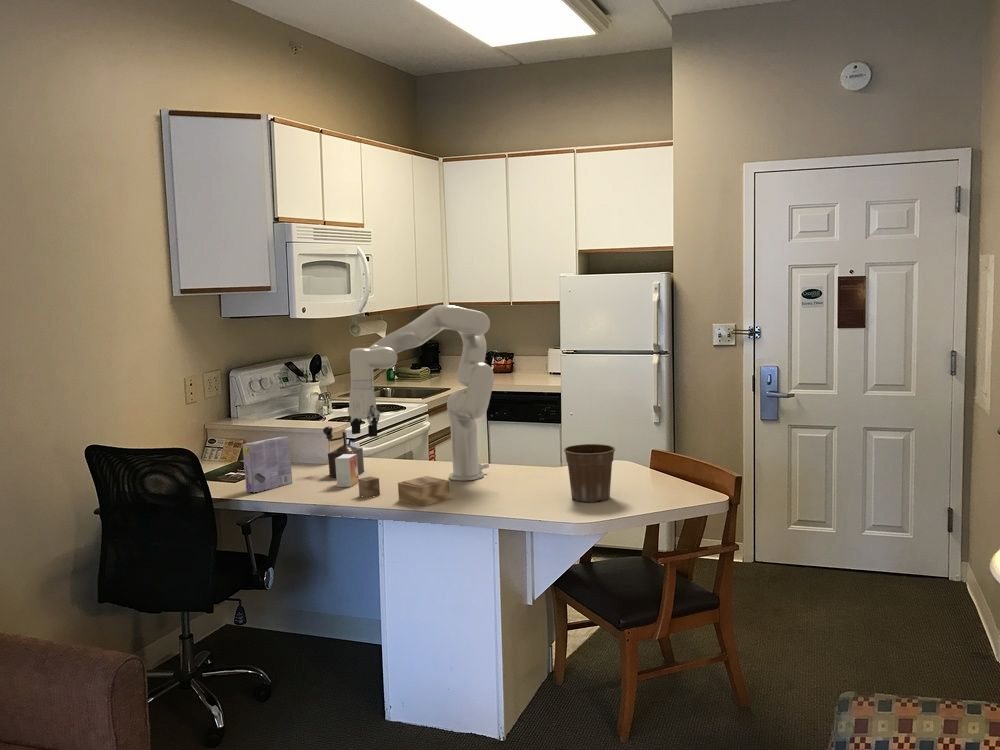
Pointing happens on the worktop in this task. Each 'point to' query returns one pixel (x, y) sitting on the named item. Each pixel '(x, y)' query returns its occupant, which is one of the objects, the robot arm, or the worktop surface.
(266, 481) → the cake pan box
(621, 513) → the worktop surface
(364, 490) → the walnut block
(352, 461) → the small box
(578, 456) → the plant pot
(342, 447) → the manual coffee grinder
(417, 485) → the oak base
